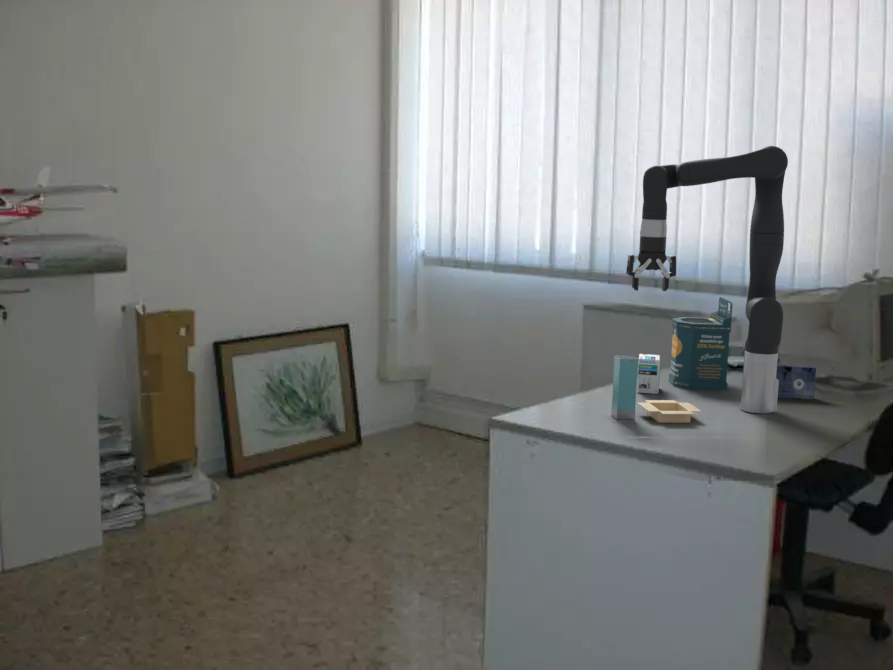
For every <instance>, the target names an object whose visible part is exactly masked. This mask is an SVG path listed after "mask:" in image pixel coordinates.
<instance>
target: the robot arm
mask: <svg viewBox="0 0 893 670" xmlns="http://www.w3.org/2000/svg"><path fill="white" fill-rule="evenodd" d="M788 159H789V158H788V155H787V154H786V151H784V150H783V149H782V148H780V147H779V146H777V145H776V146H775V145H768V146H764V147H762V148H760V149H757V150H754V151H751V152H747V153H744V154H739V155H733V156H726V157H725V156H724V157H715V158H714V157H713V158H702V159H696V160H688V161H683V162H679V163H673V164H666V165H665V164H664V165H663V164H662V165H652V166H650V167H648V168H647V169H646V170H645V171H644V173H643V176H642V177H643V179H642V197H643V202H642V203H643V204H642V212H641V213H642V214H641V224H640V231H639V251H638V254H637V255H634V254H628V255H627V262H626V275H627V276H631V278H632V280H631V281H632V282H631V284H632V285H631V287H632V289H633V290H634V291H637V292H638V291H639V283H640V282H639V281H640V277H639V276H640V275H641V274H642V273H643V272H644V271H652V270H653V271H659V272H660V273H661V275H662V276H663V278H662V283H661V284H662V286H661V291H663V292H668V291H667V290H669V287H670V286H669V285H670V278H672V277H673V278H674V277H676V276H677V256H675V255H674V254H673V255H672V254H671V255H666V251H667V233H668V230H667V229H668V225H667V219H668V218H667V216H668V203H667V192H668V189H673V188H678V187H693V186H698V185H707V184H714V183H718V182H723V181H727V180H734V179H742V178H743V179H744V178H745V179H749V178H753V179H754V184H755V189H754V190H755V194H754V195H755V196H754V204H753V210H752V214H751V220H750V227H749V228H750V230H749V232H750V233H749V283H748V291H747V297H746V303H745V315H746V318H747V320H748V321H749V323H748V332H747V333H748V334H747V339H746V340H745V344H744V354H743V355H744V356H743V367H742V369H743V371H742V381H741V395H740V397H741V399H740V410H741V411H742V412H743V411H744V412H747V413H753V414H771V413H777V409H778V408H777V407H778V385H779V380H778V379H776V373H777V365H778V358H779V357H778V356H779V347H780V345H781V341H782V334H783V333H782V332H783V326H784V309H783V307H782V304H781V303H780V302H779V301H778V300H777V296H776V289H777V288H776V286H777V285H776V283H777V282H776V281H777V274H778V270H779V267H780V264H781V261H782V260H781V259H782V257H783V252H784V242H785V241H784V240H785V218H784V209H783V208H784V205H783V190H784V184H785V183H784V181H785V175H786V171H787V169H788V163H789V160H788ZM636 261H638V262H639V264H638V266H637V267H635V270H634V265H635V263H636ZM666 261H667V263H668V264H669V272H668V270H667V268H666V267H665V265H664V264H665V263H666Z"/></svg>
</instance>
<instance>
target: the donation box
mask: <svg viewBox="0 0 893 670" xmlns="http://www.w3.org/2000/svg"><path fill="white" fill-rule="evenodd" d="M732 316H733V302H732V301H730V300H728V299H726V298H725V297H724V298H723V297H722V296H719V298H718V310H717V311H714V312H711V315H710V317H693V316H691V317H689V316H682V317H674V318H671V319H672V321H671V326H672V337H671V353H670V354H671V355H670V372H669V374H668V383H670V385H672V386H673V387H678V388H683V389H688V390H712V391H713V390H715V391H716V390H717V391H727V390H728V382H727V377H728V376H727V374H728V373H727V372H728V362H729V361H728V360H729V345H730V333H732V318H733V317H732Z"/></svg>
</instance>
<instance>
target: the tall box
mask: <svg viewBox="0 0 893 670" xmlns="http://www.w3.org/2000/svg"><path fill="white" fill-rule="evenodd" d="M613 358H614V359H613V375H612V376H613V380H612V381H613V382H612V396H611V397H612V401H611V413H610V415H611V417H613V418H614V419H615V420H616V421H635V417H636V405H637V404H636V403H637V387H638V361H639V358H637V357H635V356H634V355H614V357H613Z"/></svg>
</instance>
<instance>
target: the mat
mask: <svg viewBox="0 0 893 670" xmlns="http://www.w3.org/2000/svg"><path fill="white" fill-rule="evenodd" d="M604 416H605V417H607V419H609V420H610V421H611V422H612V423H642V421H641V420H640V419H638V418H637V417H636V416H635V421H616V420H615V419H614V418H613V417H611V414H605V415H604Z"/></svg>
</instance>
